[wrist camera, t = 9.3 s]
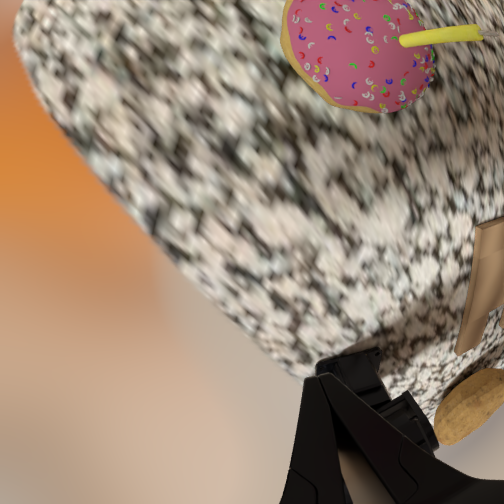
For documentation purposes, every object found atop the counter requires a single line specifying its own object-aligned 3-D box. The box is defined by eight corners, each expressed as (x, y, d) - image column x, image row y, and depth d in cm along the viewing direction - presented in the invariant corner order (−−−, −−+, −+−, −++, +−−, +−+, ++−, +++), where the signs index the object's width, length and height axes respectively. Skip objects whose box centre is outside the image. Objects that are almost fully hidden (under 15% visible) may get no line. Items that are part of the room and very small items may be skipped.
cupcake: (403, 49, 14) (531, 16, 3) (364, 142, 17) (510, 168, 6) (298, -13, 12) (366, -121, 1) (245, 81, 15) (275, -16, 4)
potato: (490, 371, 31) (514, 401, 23) (425, 422, 33) (444, 458, 25) (494, 340, 27) (524, 373, 20) (418, 400, 29) (442, 443, 22)
